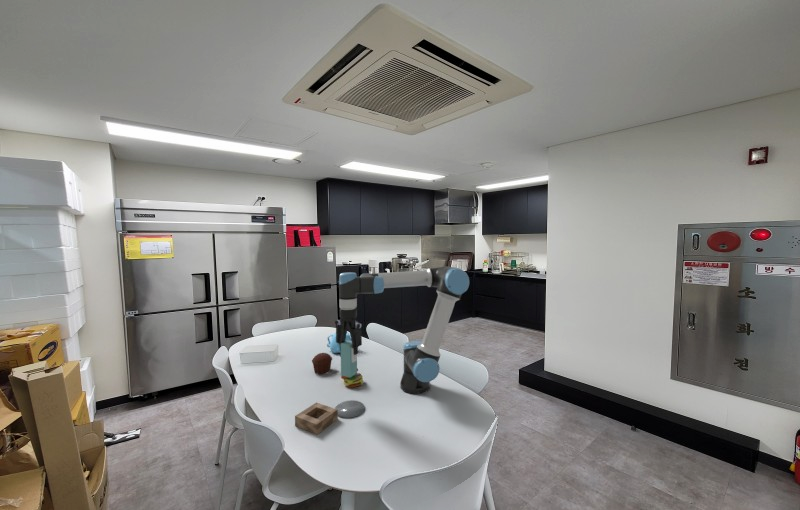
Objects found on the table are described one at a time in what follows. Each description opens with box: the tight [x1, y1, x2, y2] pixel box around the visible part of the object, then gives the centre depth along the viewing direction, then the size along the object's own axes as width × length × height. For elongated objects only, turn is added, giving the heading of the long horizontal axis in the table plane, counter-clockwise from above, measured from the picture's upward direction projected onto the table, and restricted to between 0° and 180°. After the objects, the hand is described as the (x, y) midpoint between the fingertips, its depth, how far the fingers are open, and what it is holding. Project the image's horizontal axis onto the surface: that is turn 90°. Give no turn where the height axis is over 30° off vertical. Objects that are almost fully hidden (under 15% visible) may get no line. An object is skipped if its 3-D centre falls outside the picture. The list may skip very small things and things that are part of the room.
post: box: [340, 341, 358, 377], centre depth 134 cm, size 5×5×14 cm
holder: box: [294, 401, 339, 435], centre depth 126 cm, size 12×12×4 cm
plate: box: [334, 399, 365, 419], centre depth 135 cm, size 13×13×1 cm
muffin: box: [311, 352, 333, 375], centre depth 176 cm, size 12×11×10 cm
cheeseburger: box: [340, 367, 364, 388], centre depth 160 cm, size 10×11×10 cm
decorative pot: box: [326, 332, 352, 354], centre depth 209 cm, size 16×16×14 cm
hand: (348, 360), depth 134 cm, fingers closed on post, 5 cm apart
